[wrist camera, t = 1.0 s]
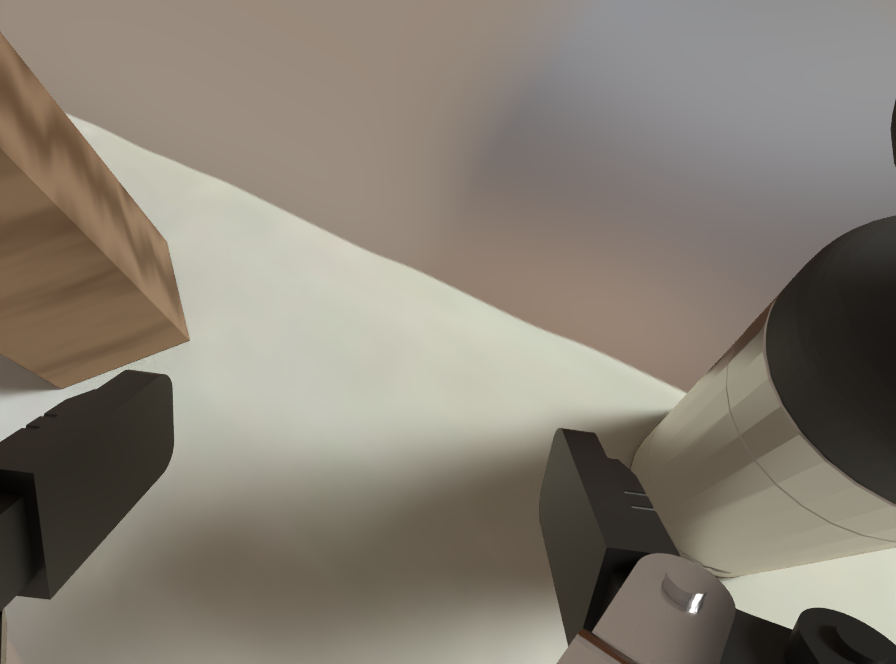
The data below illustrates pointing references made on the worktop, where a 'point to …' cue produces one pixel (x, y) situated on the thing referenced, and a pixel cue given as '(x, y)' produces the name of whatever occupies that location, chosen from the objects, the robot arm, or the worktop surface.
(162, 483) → the worktop surface
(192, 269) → the worktop surface
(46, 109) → the stand
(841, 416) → the robot arm
